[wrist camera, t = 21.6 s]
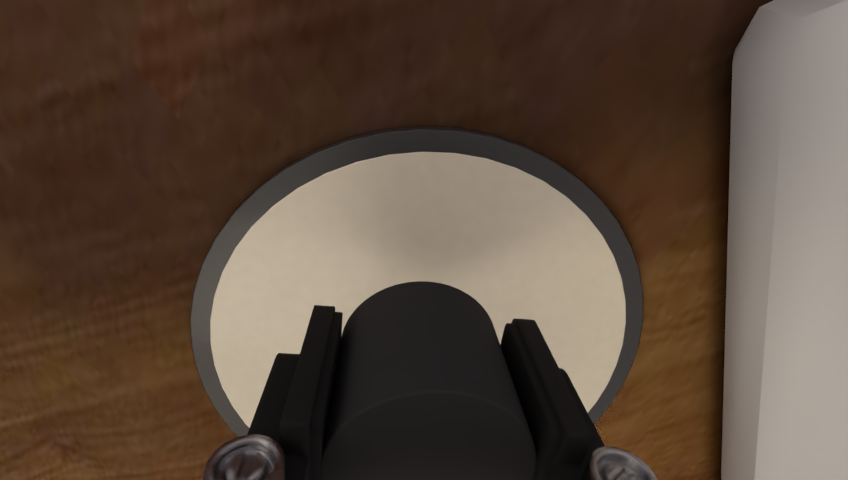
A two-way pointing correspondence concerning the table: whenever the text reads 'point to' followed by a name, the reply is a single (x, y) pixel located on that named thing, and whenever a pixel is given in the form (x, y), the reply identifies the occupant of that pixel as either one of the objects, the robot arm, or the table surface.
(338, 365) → the eye dot
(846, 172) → the tube
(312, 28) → the table surface
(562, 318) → the face circle
